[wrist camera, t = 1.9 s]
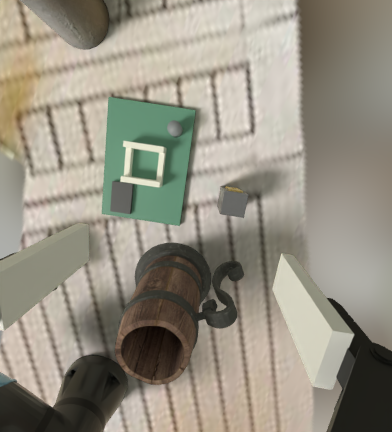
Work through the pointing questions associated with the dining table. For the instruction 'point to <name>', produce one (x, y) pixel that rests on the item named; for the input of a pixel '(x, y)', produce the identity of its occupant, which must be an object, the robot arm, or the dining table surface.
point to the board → (146, 160)
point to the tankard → (170, 311)
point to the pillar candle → (74, 19)
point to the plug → (232, 201)
